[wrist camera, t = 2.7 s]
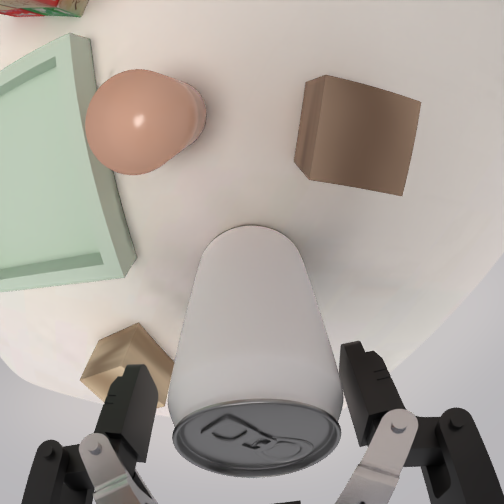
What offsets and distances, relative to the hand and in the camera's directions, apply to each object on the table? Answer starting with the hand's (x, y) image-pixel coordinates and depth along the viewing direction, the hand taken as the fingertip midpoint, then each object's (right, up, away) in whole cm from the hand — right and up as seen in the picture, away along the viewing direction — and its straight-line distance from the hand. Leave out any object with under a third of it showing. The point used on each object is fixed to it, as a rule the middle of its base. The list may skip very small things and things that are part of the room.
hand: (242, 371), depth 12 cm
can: (0, +4, +8) cm, 9 cm away
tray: (-15, +10, +4) cm, 18 cm away
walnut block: (+5, +12, +4) cm, 13 cm away
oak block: (-9, -3, +11) cm, 14 cm away
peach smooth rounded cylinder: (-4, +12, +3) cm, 13 cm away
